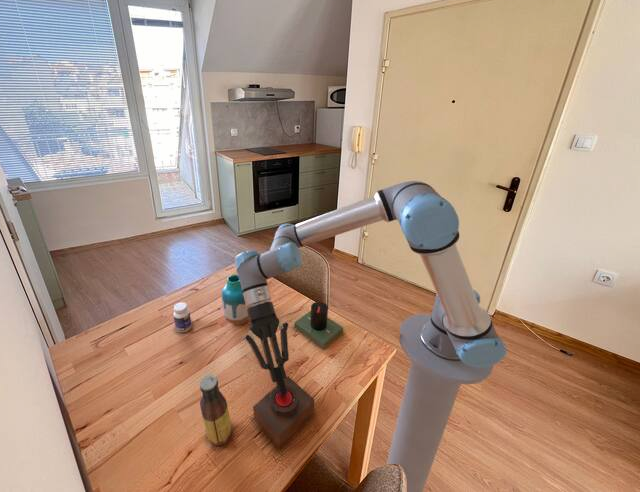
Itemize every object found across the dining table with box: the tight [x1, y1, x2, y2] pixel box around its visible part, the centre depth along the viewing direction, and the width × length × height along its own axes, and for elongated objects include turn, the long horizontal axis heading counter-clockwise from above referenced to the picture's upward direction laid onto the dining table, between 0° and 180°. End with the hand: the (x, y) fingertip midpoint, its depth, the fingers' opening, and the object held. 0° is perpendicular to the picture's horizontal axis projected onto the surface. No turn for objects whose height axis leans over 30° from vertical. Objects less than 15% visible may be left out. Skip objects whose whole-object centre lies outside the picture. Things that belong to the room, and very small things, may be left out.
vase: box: [221, 274, 249, 325], centre depth 110 cm, size 11×11×19 cm
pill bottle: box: [172, 301, 192, 333], centre depth 108 cm, size 6×6×10 cm
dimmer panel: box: [293, 310, 344, 350], centre depth 108 cm, size 14×11×3 cm
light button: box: [276, 391, 292, 408], centre depth 77 cm, size 4×4×2 cm
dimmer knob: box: [310, 301, 329, 331], centre depth 105 cm, size 6×6×8 cm
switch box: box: [252, 375, 315, 450], centre depth 78 cm, size 13×10×8 cm
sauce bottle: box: [199, 374, 232, 446], centre depth 72 cm, size 6×6×20 cm
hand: (283, 393), depth 76 cm, fingers closed
